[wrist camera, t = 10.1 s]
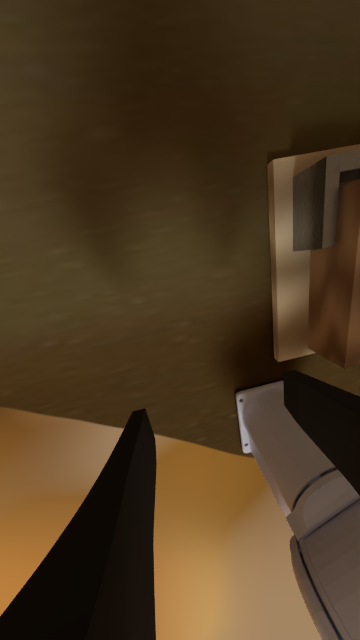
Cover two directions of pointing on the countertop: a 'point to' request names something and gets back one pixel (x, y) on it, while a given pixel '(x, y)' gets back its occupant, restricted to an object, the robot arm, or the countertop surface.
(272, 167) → the mounting board
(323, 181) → the bracket
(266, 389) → the robot arm
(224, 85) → the countertop surface
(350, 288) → the rail
